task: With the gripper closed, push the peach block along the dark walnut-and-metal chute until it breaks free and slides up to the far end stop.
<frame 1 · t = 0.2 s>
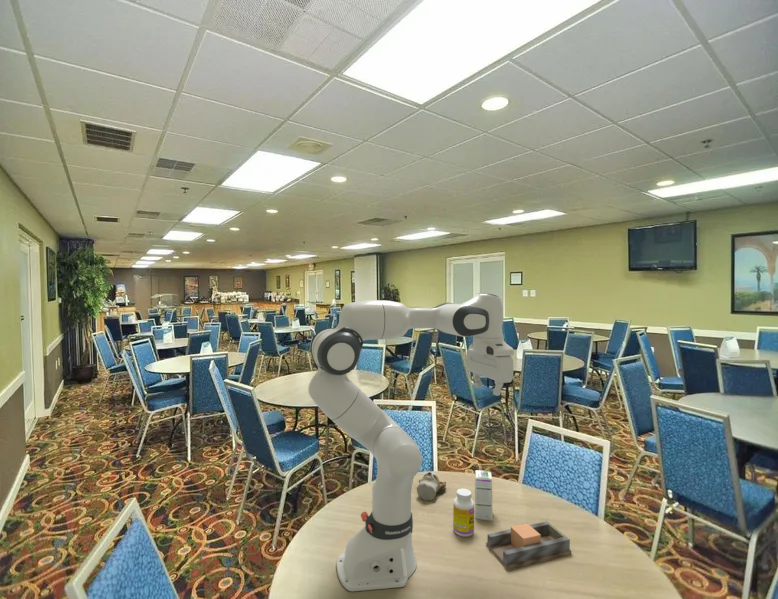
hand: (487, 391, 119), 47 cm above the table, fingers open, 8 cm apart
chute: (528, 549, 116), on the table
ceramic sculpture: (429, 494, 148), on the table
supplement bottle: (463, 531, 125), on the table
peach block: (525, 538, 116), point 4 cm above the table, slide at 0.0 cm
syrup box: (483, 515, 134), on the table
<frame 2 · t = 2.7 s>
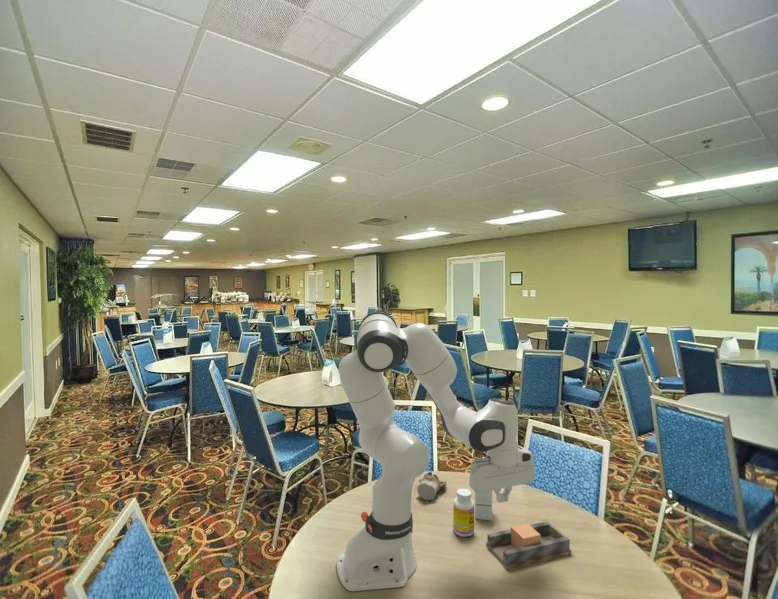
hand: (502, 500, 113), 16 cm above the table, fingers closed
nothing on the table moved.
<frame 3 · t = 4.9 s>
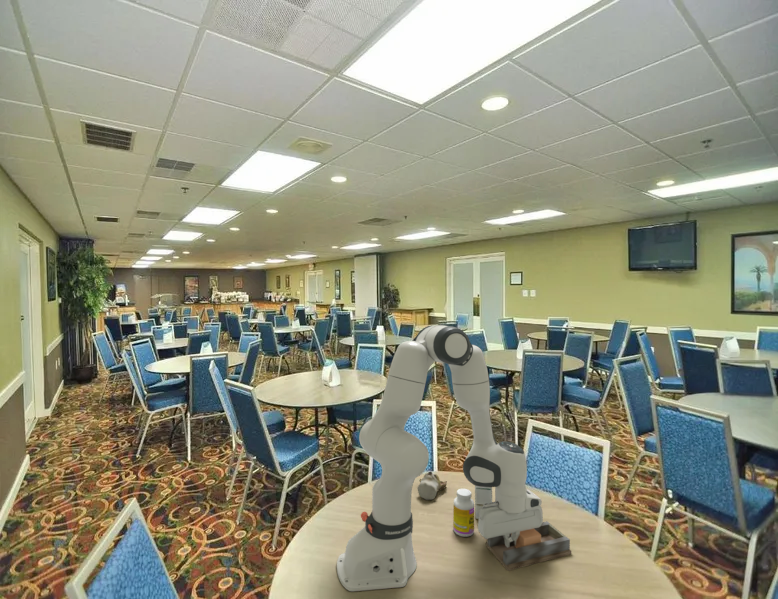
hand: (510, 545, 114), 3 cm above the table, fingers closed
peach block: (525, 538, 116), point 4 cm above the table, slide at 0.2 cm, touching gripper
everything else where it was.
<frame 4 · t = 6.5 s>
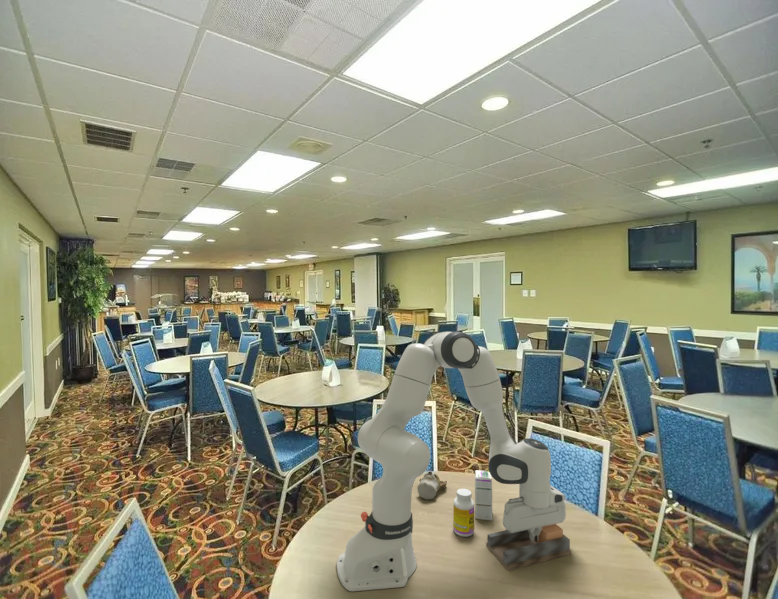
hand: (533, 540, 117), 3 cm above the table, fingers closed
peach block: (547, 533, 118), point 4 cm above the table, slide at 8.1 cm, touching gripper
everything else where it was.
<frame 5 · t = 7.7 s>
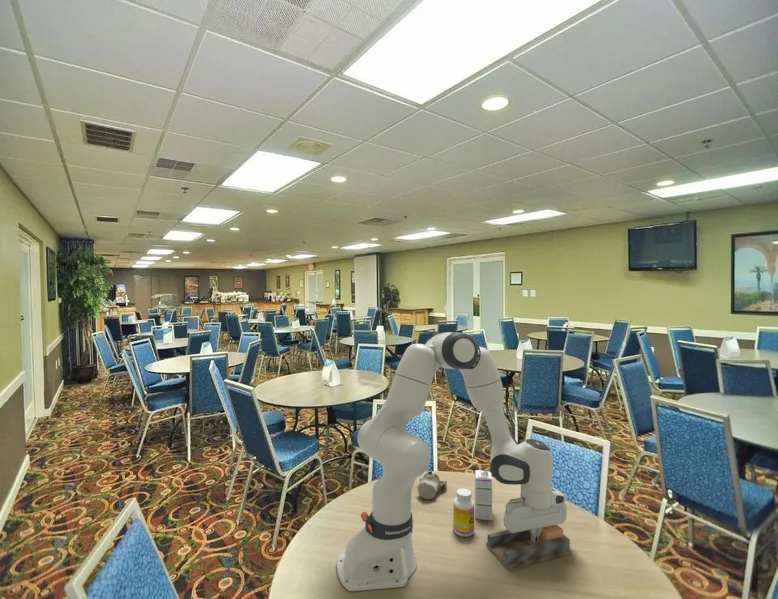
hand: (534, 540, 117), 2 cm above the table, fingers closed
peach block: (547, 533, 118), point 4 cm above the table, slide at 8.2 cm, touching chute, gripper
everything else where it was.
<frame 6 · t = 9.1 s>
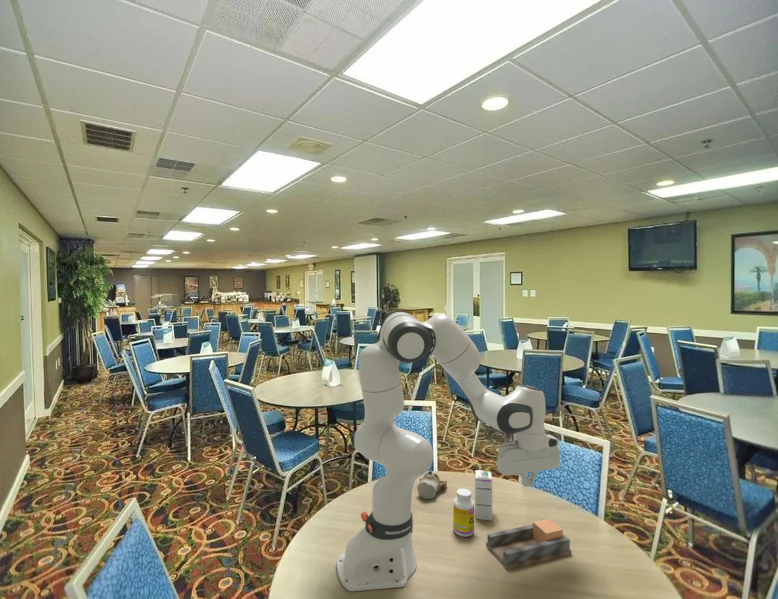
hand: (528, 485, 116), 20 cm above the table, fingers closed
peach block: (547, 533, 118), point 4 cm above the table, slide at 8.0 cm
everything else where it was.
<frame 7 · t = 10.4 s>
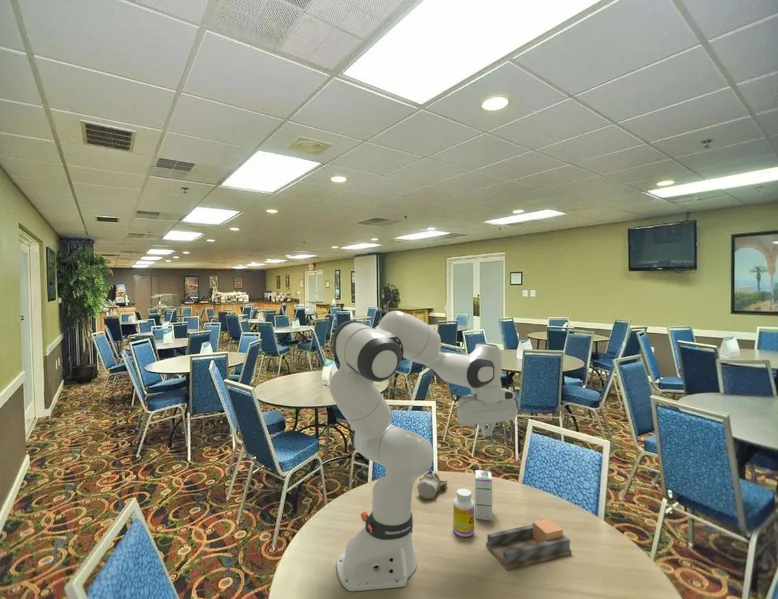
hand: (486, 435, 125), 31 cm above the table, fingers closed
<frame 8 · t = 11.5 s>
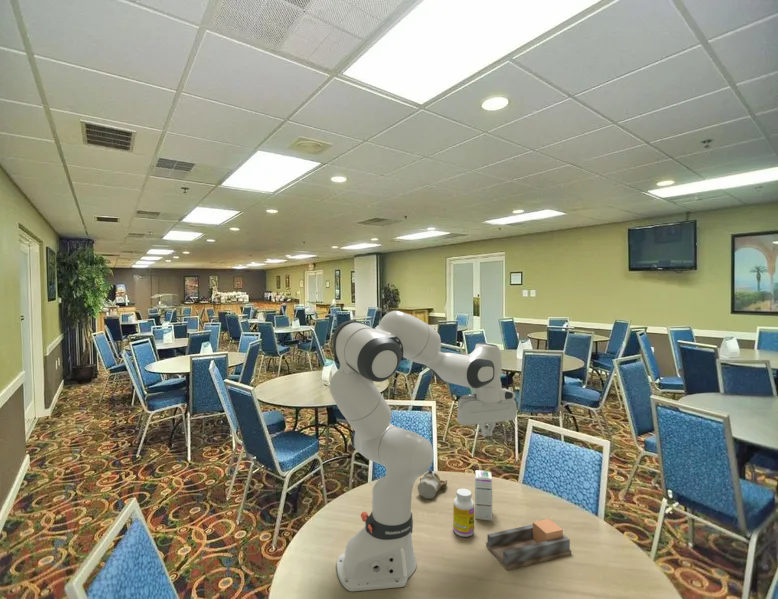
hand: (486, 435, 125), 31 cm above the table, fingers closed
at the end: peach block slide at 8.0 cm; syrup box moved 0.2 cm from its start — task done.
